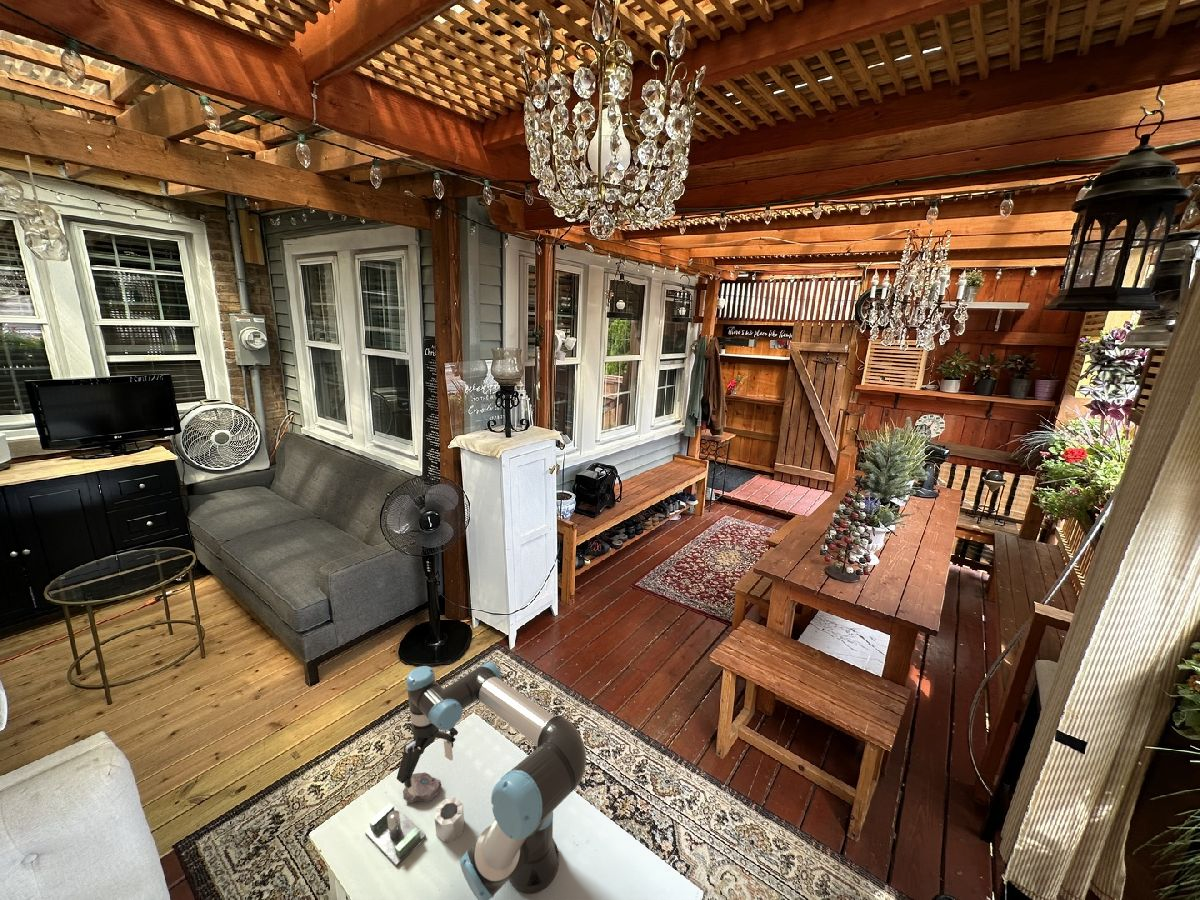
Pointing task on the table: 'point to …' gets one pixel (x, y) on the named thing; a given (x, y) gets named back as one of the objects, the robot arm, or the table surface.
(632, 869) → the table surface
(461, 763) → the table surface
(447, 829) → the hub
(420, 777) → the rock
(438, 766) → the table surface
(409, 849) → the stand
